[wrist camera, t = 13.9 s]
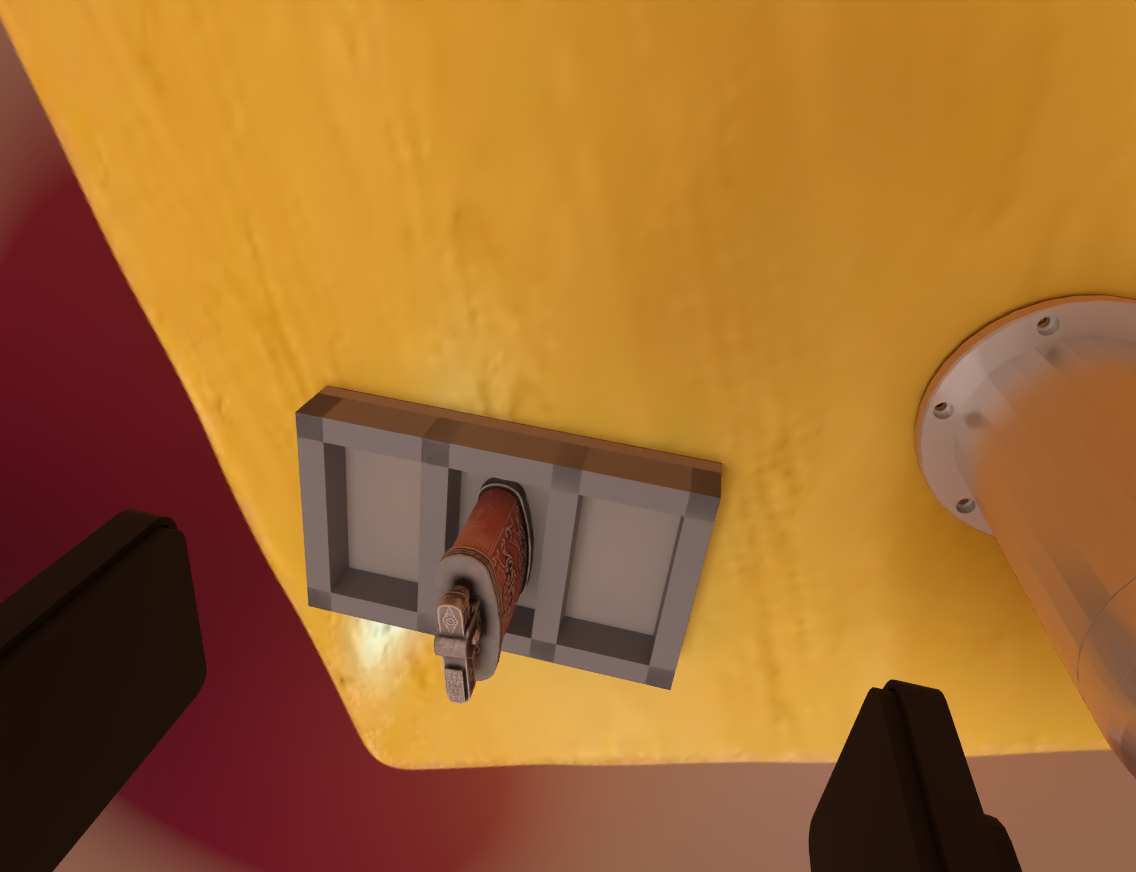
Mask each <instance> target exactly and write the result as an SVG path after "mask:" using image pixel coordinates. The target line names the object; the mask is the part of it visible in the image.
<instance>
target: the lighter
mask: <svg viewBox="0 0 1136 872" xmlns="http://www.w3.org/2000/svg"><path fill="white" fill-rule="evenodd" d="M533 551H534V533H533V524H532V516H531V511H530V508H529V504H528V500H527V496H526V492H525V490H524V488H523V486H522V485H521V484H520V483H518V482H514V481H509V480H504V479H499V478H494V477H492V478H489V479H488V480H487V481H485V482H484V483H483V485H482V487H481V489H480V491H479V493H478V495H477V500H476V505H475V507H474V509H473V510H472V512H471V514H470V516H469V518H468V520H467V521H466V523H465V525H464V527H463V529H462V530H461V532H460V534H459V536H458V538H457V540H456V541H455V543H454V545H453V547H452V548H451V549H449V550H448V551H447V552H445V553H444V555H443V557H442V558H441V560H440V562H439V564H438V566H437V570H436V578H435V587H434V615H435V622H436V627H437V630H436V635H435V640H434V651H435V654H436V655H439V656H442V657H443V666H444V675H445V684H446V692H447V696H448V698H449V700H450V701H451V702H454V703H465V702H468V701H469V700H470V697H471V694H472V692H473V689H474V687H475V683H476V681H482V680H486V679H488V678H490V677H491V676H493V674H494V672H495V670H496V667H497V665H498V662H499V658H500V653H501V647H502V642H503V638H504V636H505V633H506V630H507V628H508V625H509V622H510V620H511V617H512V614H513V612H514V609H515V607H516V604H517V601H518V599H519V597H520V596H521V595H522V594H523V593H524V591H525V590H526V587H527V584H528V582H529V578H530V573H531V568H532V563H533Z"/></svg>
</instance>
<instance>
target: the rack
mask: <svg viewBox="0 0 1136 872" xmlns="http://www.w3.org/2000/svg"><path fill="white" fill-rule="evenodd" d="M295 413H296V427H297V442H298V457H299V471H300V486H301V501H302V516H303V530H304V545H305V560H306V575H307V589H308V604H309V606H311V607H315V608H320V609H324V610H328V611H333V612H337V613H341V614H346V615H350V616H354V617H358V618H363V619H367V620H371V621H376V622H380V623H384V624H389V625H393V626H397V627H401V628H406V629H410V630H414V631H419V632H423V633H427V634H432V635H436V630H437V627H436V622H435V615H434V587H435V578H436V570H437V566H438V564H439V562H440V560H441V558H442V557H443V555H444V553H445V552H447V551H448V550H449V549H451V548H452V547H453V545H454V543H455V541H456V540H457V538H458V536H459V534H460V532H461V530H462V529H463V527H464V525H465V523H466V521H467V520H468V518H469V516H470V514H471V512H472V510H473V509H474V507H475V505H476V500H477V495H478V493H479V491H480V489H481V487H482V485H483V483H484V482H485V481H487V480H488V479H489V478H492V477H494V478H499V479H504V480H509V481H514V482H518V483H520V484H521V485H522V486H523V488H524V490H525V492H526V496H527V500H528V504H529V508H530V511H531V516H532V524H533V533H534V551H533V563H532V568H531V573H530V578H529V582H528V584H527V587H526V590H525V591H524V593H523V594H522V595H521V596H520V597H519V599H518V601H517V604H516V607H515V609H514V612H513V614H512V617H511V620H510V622H509V625H508V628H507V630H506V633H505V636H504V638H503V642H502V647H501V651H505V652H509V653H513V654H518V655H522V656H526V657H530V658H535V659H539V660H543V661H548V662H552V663H556V664H561V665H565V666H569V667H573V668H578V669H582V670H586V671H591V672H595V673H599V674H604V675H608V676H612V677H616V678H621V679H625V680H629V681H634V682H638V683H642V684H647V685H651V686H655V687H659V688H664V689H668V690H670V689H671V686H672V682H673V678H674V674H675V670H676V667H677V663H678V659H679V655H680V651H681V647H682V644H683V640H684V636H685V632H686V628H687V624H688V621H689V617H690V613H691V609H692V605H693V602H694V598H695V594H696V590H697V586H698V582H699V579H700V575H701V571H702V567H703V563H704V559H705V556H706V552H707V548H708V544H709V540H710V537H711V533H712V529H713V525H714V521H715V517H716V514H717V510H718V506H719V502H720V498H721V463H716V462H710V461H705V460H700V459H695V458H690V457H685V456H680V455H675V454H670V453H665V452H660V451H655V450H650V449H645V448H639V447H634V446H629V445H624V444H619V443H614V442H609V441H604V440H599V439H594V438H589V437H584V436H579V435H574V434H568V433H563V432H558V431H553V430H548V429H543V428H538V427H533V426H528V425H523V424H518V423H513V422H508V421H503V420H497V419H492V418H487V417H482V416H477V415H472V414H467V413H462V412H457V411H452V410H447V409H442V408H437V407H432V406H426V405H421V404H416V403H411V402H406V401H401V400H396V399H391V398H386V397H381V396H376V395H371V394H366V393H361V392H355V391H350V390H345V389H340V388H335V387H330V386H326V387H325V388H324V389H322V390H321V391H320V392H319V393H318V394H316V395H315V396H314V397H313V398H312V399H311V400H309V401H308V402H307V403H306V404H305V405H303V406H302V407H301V408H300V409H299V410H298V411H296V412H295Z"/></svg>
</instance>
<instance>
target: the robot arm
mask: <svg viewBox="0 0 1136 872" xmlns="http://www.w3.org/2000/svg"><path fill="white" fill-rule="evenodd" d="M1045 317H1046V321H1045V322H1044V323H1042V324H1038V323H1039V321H1040V320H1041V319H1043V318H1045ZM940 403H944V404H943V405H942V406H940V407H936V405H938V404H940ZM915 450H916V454H917V458H918V462H919V465H920V469H921V471H922V473H923V475H924V477H925V480H926V482H927V484H928V486H929V488H930V489H931V491H932V492H933V494H934V495H935V496H936V498H937V499H938V501H939V502H940V504H941V505H942V506H944V507H945V508H946V509H947V510H948V511H949V512H950V513H951V514H952V515H953V516H954V517H956V518H957V519H959V520H960V521H962V522H964V523H965V524H967V525H969V526H970V527H972V528H974V529H975V530H978V531H980V532H983V533H986V534H988V535H991V536H994V537H995V538H996V540H997V542H998V544H999V546H1000V548H1001V549H1002V551H1003V553H1004V555H1005V557H1006V559H1007V560H1008V562H1009V564H1010V566H1011V568H1012V570H1013V571H1014V573H1015V575H1016V577H1017V579H1018V581H1019V583H1020V584H1021V586H1022V588H1023V590H1024V592H1025V594H1026V595H1027V597H1028V599H1029V601H1030V603H1031V605H1032V607H1033V608H1034V610H1035V612H1036V614H1037V616H1038V618H1039V619H1040V621H1041V623H1042V625H1043V627H1044V629H1045V630H1046V632H1047V634H1048V636H1049V638H1050V640H1051V642H1052V643H1053V645H1054V647H1055V649H1056V651H1057V653H1058V654H1059V656H1060V658H1061V660H1062V662H1063V664H1064V666H1065V667H1066V669H1067V671H1068V673H1069V675H1070V677H1071V678H1072V680H1073V682H1074V684H1075V686H1076V688H1077V689H1078V691H1079V693H1080V695H1081V697H1082V699H1083V700H1084V702H1085V703H1086V705H1087V707H1088V709H1089V711H1090V712H1091V714H1092V716H1093V718H1094V720H1095V721H1096V723H1097V725H1098V727H1099V729H1100V730H1101V732H1102V734H1103V736H1104V738H1105V739H1106V741H1107V742H1108V744H1109V745H1110V747H1111V748H1112V750H1113V752H1114V753H1115V754H1116V756H1117V757H1118V758H1119V760H1120V761H1121V762H1122V763H1123V765H1124V766H1125V767H1126V768H1127V769H1128V771H1129V772H1130V773H1131V774H1132V775H1133V776H1134V777H1135V778H1136V300H1133V299H1127V298H1121V297H1115V296H1109V295H1089V296H1071V297H1066V298H1060V299H1054V300H1048V301H1044V302H1041V303H1038V304H1035V305H1032V306H1029V307H1026V308H1023V309H1020V310H1017V311H1014V312H1013V313H1011V314H1009V315H1007V316H1005V317H1003V318H1001V319H999V320H997V321H995V322H993V323H991V324H989V325H987V326H986V327H985V328H983V329H982V330H980V331H979V332H978V333H976V334H975V335H974V336H972V337H971V338H969V339H968V340H967V341H965V342H964V343H963V344H962V345H961V346H960V347H959V348H958V349H957V350H956V351H955V352H954V353H953V354H952V355H951V356H950V357H949V358H948V359H947V360H946V361H945V362H944V363H943V365H942V366H941V368H940V369H939V371H938V372H937V373H936V375H935V376H934V378H933V379H932V381H931V382H930V383H929V386H928V388H927V390H926V392H925V395H924V397H923V399H922V401H921V404H920V406H919V411H918V415H917V420H916V425H915ZM206 672H207V670H206V661H205V655H204V649H203V643H202V637H201V631H200V624H199V618H198V613H197V606H196V600H195V594H194V588H193V582H192V576H191V570H190V564H189V557H188V551H187V545H186V540H185V536H184V534H183V533H182V532H181V531H178V529H177V526H176V523H175V522H174V521H173V520H172V519H171V518H168V517H164V516H160V515H155V514H151V513H146V512H141V511H137V510H133V509H129V510H124V511H122V512H120V513H119V514H117V515H116V516H114V517H113V518H112V519H111V520H109V521H108V522H106V523H105V524H104V525H103V526H101V527H100V528H99V529H97V530H96V531H95V532H93V533H92V534H91V535H89V536H88V537H87V538H86V539H85V540H83V541H82V542H80V543H79V544H78V545H76V546H75V547H74V548H73V549H71V550H70V551H69V552H67V553H66V554H65V555H63V556H62V557H61V558H59V559H58V560H57V561H56V562H54V563H53V564H52V565H50V566H49V567H48V568H47V569H45V570H44V571H43V572H41V573H40V574H39V575H38V576H36V577H35V578H33V579H32V580H31V581H29V582H28V583H27V584H25V585H24V586H23V587H22V588H20V589H19V590H18V591H16V592H15V593H14V594H12V595H11V596H10V597H9V598H7V599H6V600H5V601H3V602H2V603H1V604H0V872H53V871H54V869H55V868H56V867H57V866H58V865H59V863H60V862H61V861H62V860H63V858H64V857H65V856H66V854H68V852H69V851H70V850H71V849H72V847H73V846H74V845H75V844H76V842H77V841H78V840H79V839H80V838H81V836H82V835H83V834H84V833H85V832H86V830H87V829H88V828H89V827H90V825H91V824H92V823H93V822H94V821H95V819H96V818H97V817H98V816H99V814H100V813H101V812H102V811H103V810H104V808H105V807H106V806H107V804H108V803H109V802H110V801H111V800H112V798H113V797H114V796H115V795H116V794H117V792H118V791H119V790H120V789H121V788H122V786H123V785H124V784H125V783H126V781H127V780H128V779H129V778H130V776H131V775H132V774H133V773H134V772H135V770H136V769H137V768H138V767H139V765H140V764H141V763H142V762H143V761H144V759H145V758H146V757H147V756H148V755H149V753H150V752H151V751H152V750H153V748H154V747H155V746H156V745H157V744H158V742H159V741H160V740H161V739H162V737H163V736H164V735H165V734H166V733H167V731H168V730H169V729H170V728H171V726H172V725H173V724H174V723H175V721H176V720H177V719H178V718H179V717H180V716H181V714H182V713H183V712H184V711H185V709H186V708H187V707H188V706H189V705H190V703H191V702H192V701H193V699H194V698H195V697H196V696H197V694H198V693H199V692H200V690H201V688H202V686H203V684H204V681H205V678H206ZM809 855H810V865H811V872H1022V870H1021V867H1020V864H1019V862H1018V859H1017V856H1016V853H1015V850H1014V848H1013V845H1012V842H1011V840H1010V838H1009V836H1008V833H1007V831H1006V829H1005V827H1004V826H1003V825H1002V824H1001V823H1000V822H999V820H997V818H994V817H992V816H990V815H986V814H984V812H983V809H982V806H981V803H980V800H979V797H978V795H977V792H976V788H975V786H974V782H973V779H972V777H971V773H970V770H969V767H968V764H967V761H966V758H965V755H964V752H963V749H962V746H961V743H960V740H959V737H958V734H957V731H956V728H955V725H954V722H953V719H952V716H951V713H950V710H949V707H948V704H947V701H946V699H945V697H944V695H943V693H942V692H941V691H940V690H938V689H934V688H929V687H925V686H920V685H916V684H911V683H907V682H902V681H898V680H889V681H888V682H887V683H886V685H885V686H884V688H883V689H879V688H874V687H873V688H871V689H870V690H869V692H868V694H867V696H866V698H865V700H864V703H863V705H862V707H861V709H860V712H859V714H858V716H857V718H856V721H855V723H854V725H853V727H852V730H851V732H850V734H849V736H848V739H847V741H846V743H845V745H844V748H843V750H842V752H841V754H840V757H839V759H838V761H837V763H836V766H835V768H834V770H833V772H832V775H831V777H830V779H829V782H828V784H827V786H826V788H825V790H824V793H823V795H822V797H821V799H820V801H819V804H818V806H817V808H816V811H815V813H814V815H813V818H812V820H811V825H810V831H809Z"/></svg>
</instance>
